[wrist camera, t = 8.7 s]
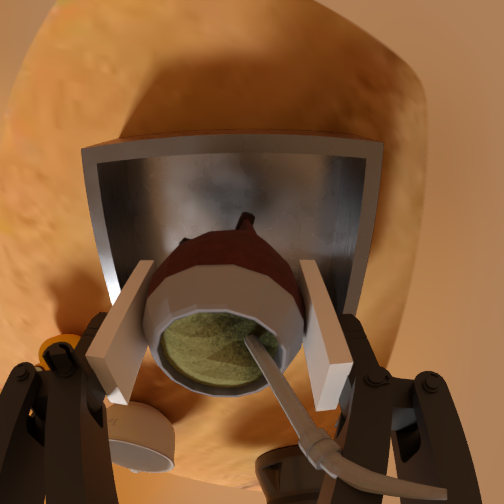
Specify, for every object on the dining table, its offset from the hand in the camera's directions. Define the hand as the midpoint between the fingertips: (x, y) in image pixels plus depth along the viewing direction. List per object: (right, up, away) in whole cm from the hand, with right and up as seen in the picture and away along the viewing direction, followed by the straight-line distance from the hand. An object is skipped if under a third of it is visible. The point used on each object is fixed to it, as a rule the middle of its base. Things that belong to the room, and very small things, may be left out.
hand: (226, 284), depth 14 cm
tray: (0, +4, +8) cm, 9 cm away
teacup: (-15, -22, +21) cm, 34 cm away
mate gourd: (0, +2, +3) cm, 4 cm away
